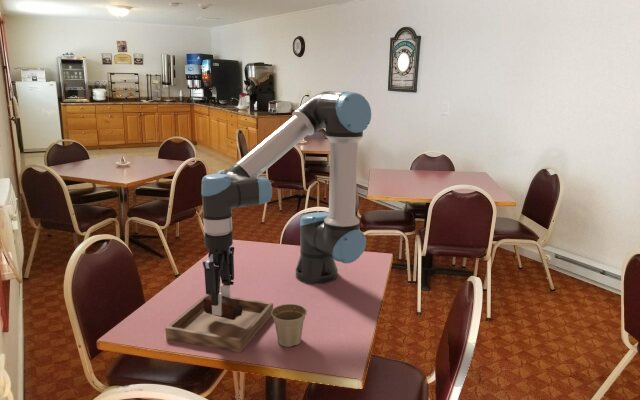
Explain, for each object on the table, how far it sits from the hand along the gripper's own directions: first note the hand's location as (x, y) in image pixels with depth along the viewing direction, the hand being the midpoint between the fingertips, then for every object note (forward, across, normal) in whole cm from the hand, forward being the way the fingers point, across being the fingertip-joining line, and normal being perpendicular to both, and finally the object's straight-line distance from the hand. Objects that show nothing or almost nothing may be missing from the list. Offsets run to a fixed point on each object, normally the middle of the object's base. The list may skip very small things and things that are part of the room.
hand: (221, 310), depth 129 cm
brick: (+1, 0, 0) cm, 1 cm away
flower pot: (+5, +2, +21) cm, 22 cm away
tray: (+5, 0, 0) cm, 5 cm away
